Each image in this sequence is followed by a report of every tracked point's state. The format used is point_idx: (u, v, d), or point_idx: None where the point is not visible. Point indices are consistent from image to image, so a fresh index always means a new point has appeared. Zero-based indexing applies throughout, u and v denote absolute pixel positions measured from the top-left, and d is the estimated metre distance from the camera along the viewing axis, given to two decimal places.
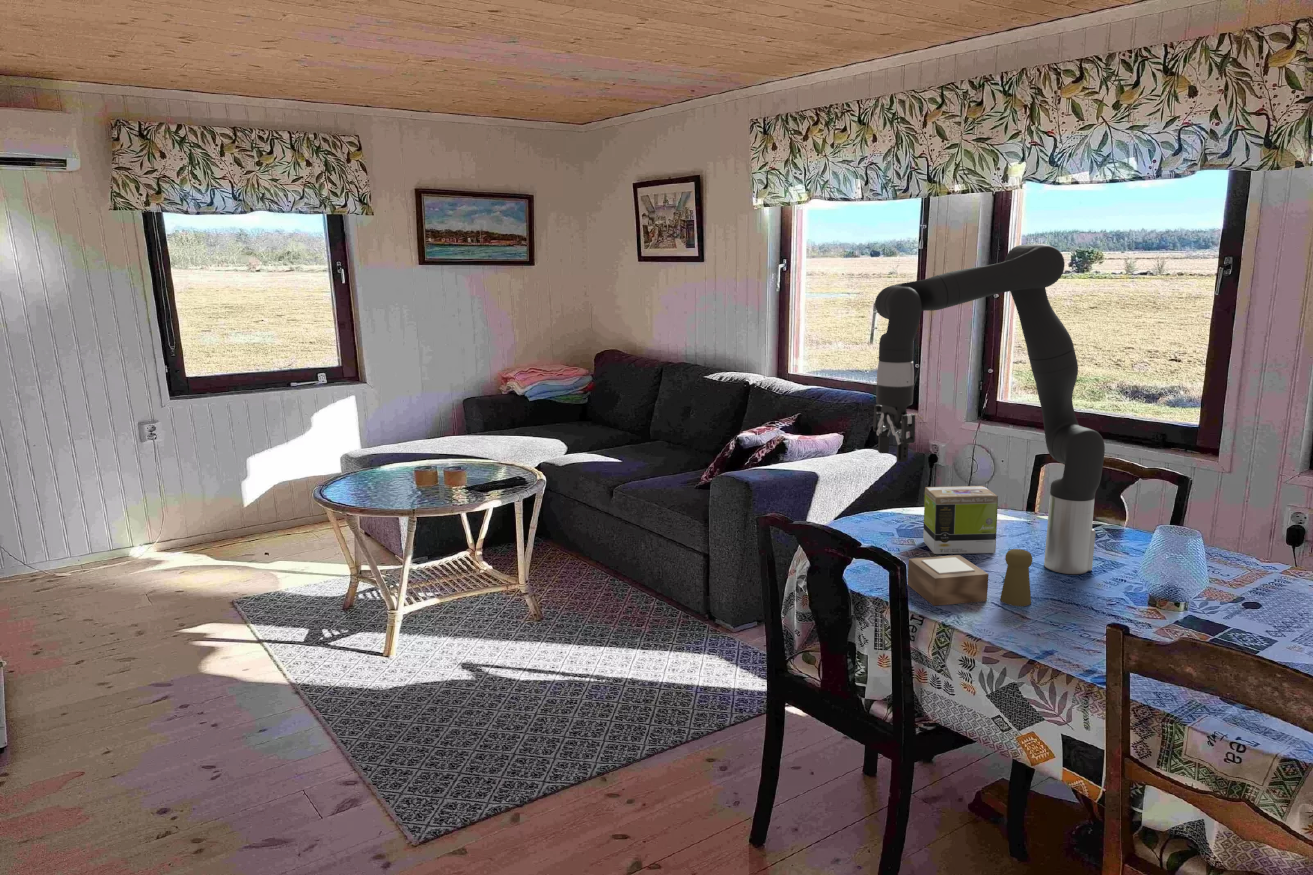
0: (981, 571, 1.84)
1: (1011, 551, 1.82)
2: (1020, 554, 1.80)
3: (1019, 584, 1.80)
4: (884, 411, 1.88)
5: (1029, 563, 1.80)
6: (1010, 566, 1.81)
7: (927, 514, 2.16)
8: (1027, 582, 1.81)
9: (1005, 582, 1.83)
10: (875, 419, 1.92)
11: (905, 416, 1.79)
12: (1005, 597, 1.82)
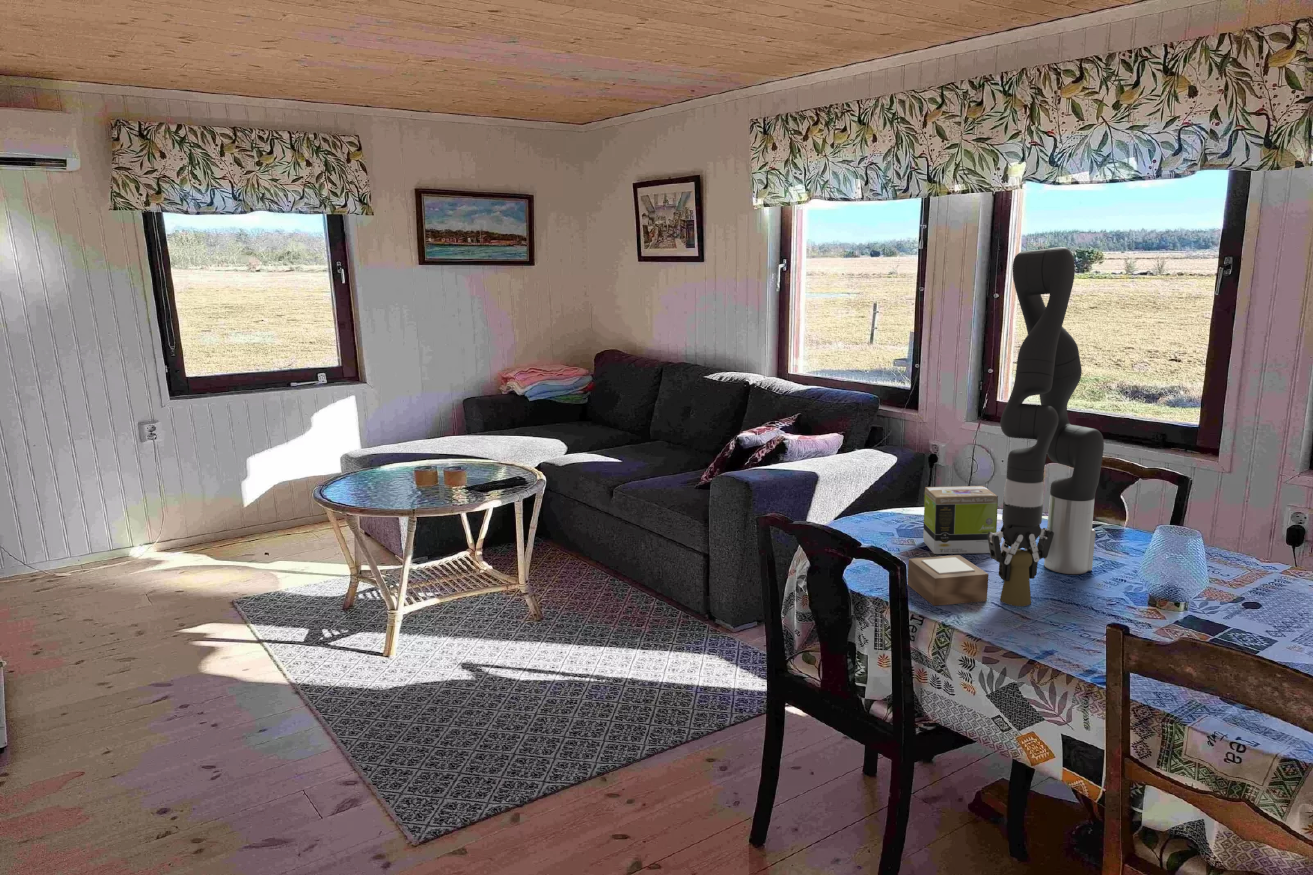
0: (981, 571, 1.84)
1: None
2: (1020, 554, 1.80)
3: (1019, 584, 1.80)
4: (1013, 534, 1.79)
5: (1029, 563, 1.80)
6: (1010, 566, 1.81)
7: (927, 514, 2.16)
8: (1027, 582, 1.81)
9: (1005, 582, 1.83)
10: (999, 549, 1.79)
11: None
12: (1005, 597, 1.82)
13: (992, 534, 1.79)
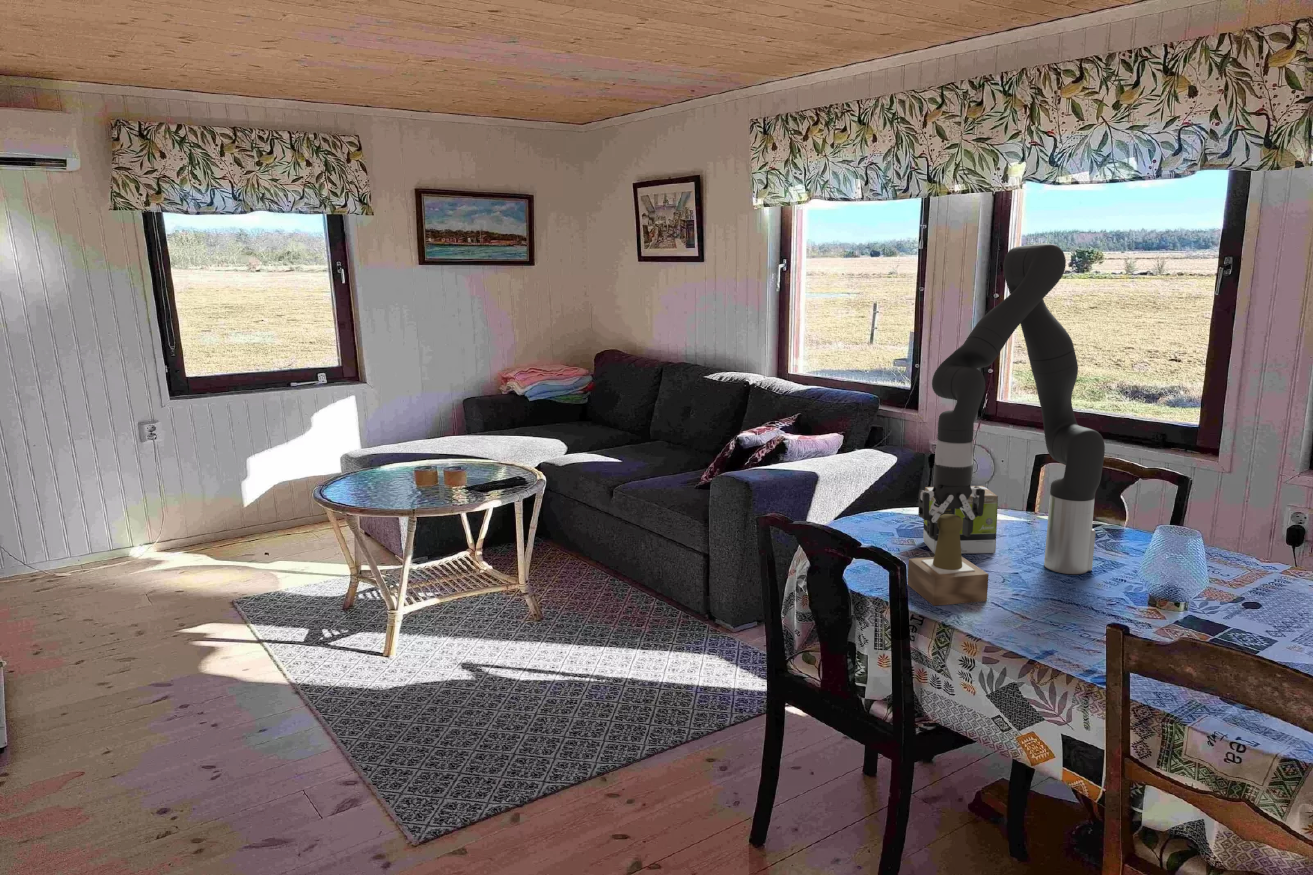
0: (981, 571, 1.84)
1: (942, 516, 1.85)
2: (950, 519, 1.83)
3: (950, 548, 1.84)
4: (944, 494, 1.82)
5: (959, 527, 1.83)
6: (941, 531, 1.85)
7: None
8: (958, 546, 1.84)
9: (937, 546, 1.86)
10: (927, 507, 1.82)
11: None
12: (936, 561, 1.86)
13: (923, 491, 1.82)
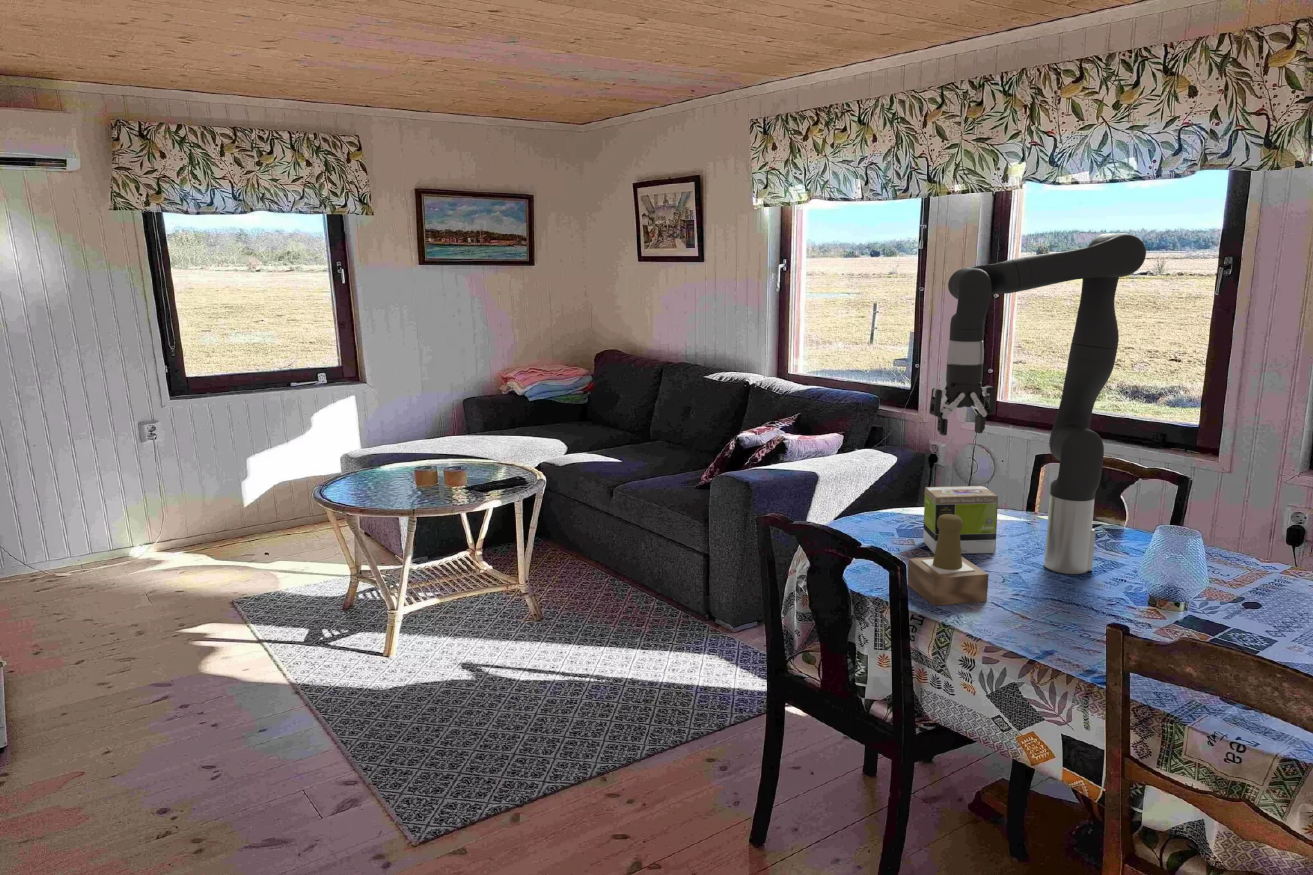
0: (981, 571, 1.84)
1: (942, 516, 1.85)
2: (950, 519, 1.83)
3: (950, 548, 1.84)
4: (956, 392, 1.91)
5: (959, 527, 1.83)
6: (941, 531, 1.85)
7: (927, 514, 2.16)
8: (958, 546, 1.84)
9: (937, 546, 1.86)
10: (939, 404, 1.91)
11: None
12: (936, 561, 1.86)
13: (936, 388, 1.91)
